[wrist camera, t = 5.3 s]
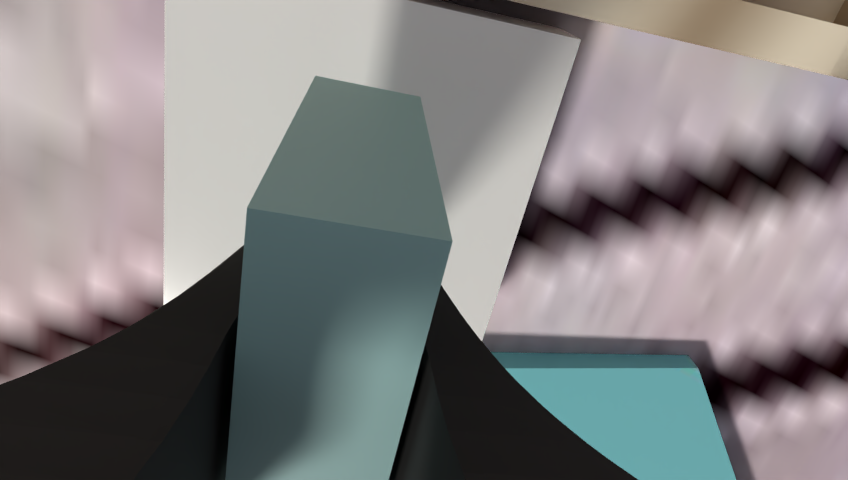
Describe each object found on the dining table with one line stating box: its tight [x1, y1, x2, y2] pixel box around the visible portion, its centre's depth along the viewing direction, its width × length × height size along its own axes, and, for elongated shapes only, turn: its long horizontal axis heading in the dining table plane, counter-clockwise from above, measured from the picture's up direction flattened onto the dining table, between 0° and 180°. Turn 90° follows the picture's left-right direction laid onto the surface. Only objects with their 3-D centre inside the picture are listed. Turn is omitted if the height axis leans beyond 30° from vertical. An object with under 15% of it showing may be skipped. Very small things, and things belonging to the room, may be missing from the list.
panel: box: [225, 76, 453, 480], centre depth 10 cm, size 2×7×6 cm, turn 168°
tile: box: [164, 0, 581, 341], centre depth 17 cm, size 10×10×2 cm
